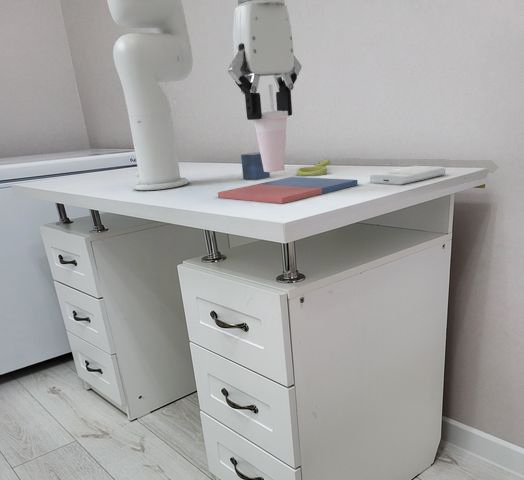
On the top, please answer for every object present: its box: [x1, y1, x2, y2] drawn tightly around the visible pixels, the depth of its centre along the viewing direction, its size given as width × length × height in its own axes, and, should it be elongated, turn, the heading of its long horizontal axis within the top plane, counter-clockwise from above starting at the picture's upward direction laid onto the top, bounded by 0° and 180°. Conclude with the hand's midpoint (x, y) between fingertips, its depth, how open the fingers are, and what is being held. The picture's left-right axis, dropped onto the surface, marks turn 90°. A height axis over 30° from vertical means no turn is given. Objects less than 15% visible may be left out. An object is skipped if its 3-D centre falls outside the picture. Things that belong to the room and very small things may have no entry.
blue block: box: [240, 151, 271, 181], centre depth 126 cm, size 4×4×6 cm
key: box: [296, 158, 331, 177], centre depth 127 cm, size 7×12×2 cm, turn 168°
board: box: [217, 176, 359, 204], centre depth 104 cm, size 18×20×1 cm
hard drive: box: [369, 165, 447, 186], centre depth 104 cm, size 2×8×12 cm
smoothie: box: [253, 83, 289, 173], centre depth 95 cm, size 6×6×14 cm
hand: (269, 116), depth 94 cm, fingers closed on smoothie, 6 cm apart
